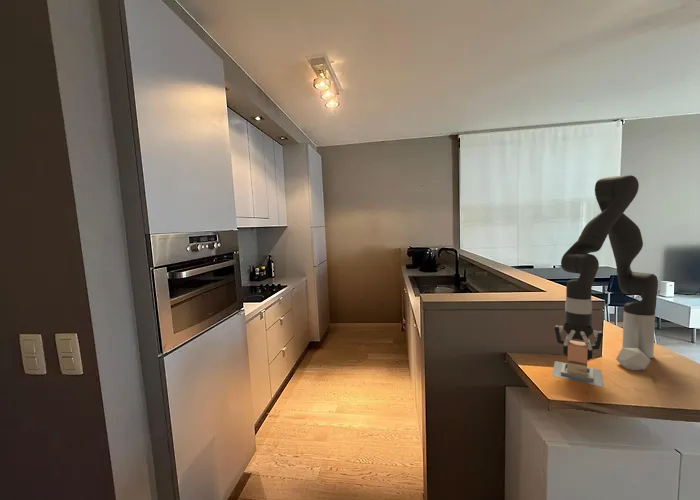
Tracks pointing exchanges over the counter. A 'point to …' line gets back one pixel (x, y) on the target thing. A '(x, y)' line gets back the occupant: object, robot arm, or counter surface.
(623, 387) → the counter surface
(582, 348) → the top block
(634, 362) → the grey faceted rock
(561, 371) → the base plate
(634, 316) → the robot arm
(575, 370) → the base block
